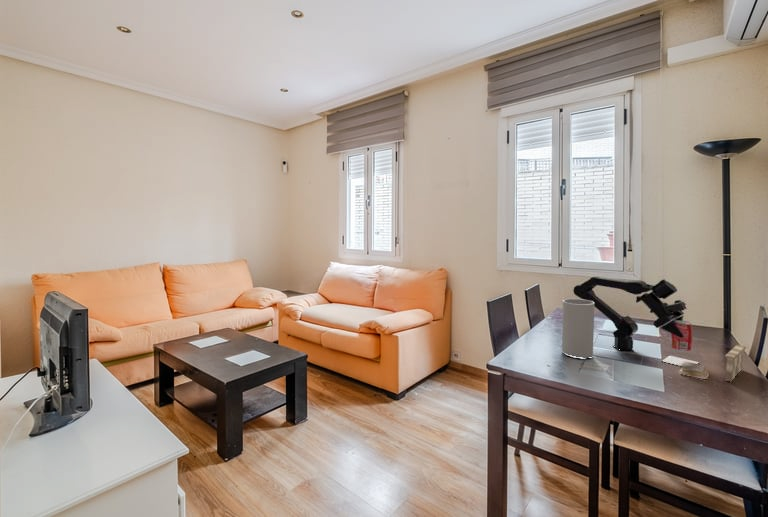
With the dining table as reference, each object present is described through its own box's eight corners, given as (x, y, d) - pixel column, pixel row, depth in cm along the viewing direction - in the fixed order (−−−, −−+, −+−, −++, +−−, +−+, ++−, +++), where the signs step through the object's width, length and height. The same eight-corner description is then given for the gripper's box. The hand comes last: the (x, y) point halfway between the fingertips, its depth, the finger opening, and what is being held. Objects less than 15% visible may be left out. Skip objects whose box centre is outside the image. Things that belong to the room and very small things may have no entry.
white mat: (661, 361, 151) (661, 360, 151) (669, 356, 157) (669, 355, 157) (691, 369, 143) (691, 368, 143) (698, 363, 149) (698, 362, 148)
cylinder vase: (584, 350, 167) (586, 298, 165) (598, 360, 154) (599, 304, 152) (557, 350, 168) (558, 298, 166) (568, 360, 156) (569, 304, 153)
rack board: (732, 383, 130) (734, 356, 129) (723, 380, 132) (725, 355, 131) (743, 370, 140) (745, 346, 139) (735, 368, 142) (737, 344, 141)
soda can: (681, 346, 153) (682, 319, 152) (695, 352, 146) (697, 324, 145) (665, 346, 153) (667, 320, 152) (679, 352, 146) (681, 324, 145)
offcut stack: (679, 374, 139) (679, 363, 138) (681, 371, 142) (682, 360, 142) (706, 381, 133) (706, 369, 132) (708, 377, 136) (709, 366, 135)
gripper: (664, 297, 145) (697, 329, 137) (679, 291, 156) (710, 321, 148) (641, 312, 152) (670, 343, 144) (657, 305, 163) (685, 334, 155)
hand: (685, 335), depth 148 cm, fingers closed on soda can, 7 cm apart
